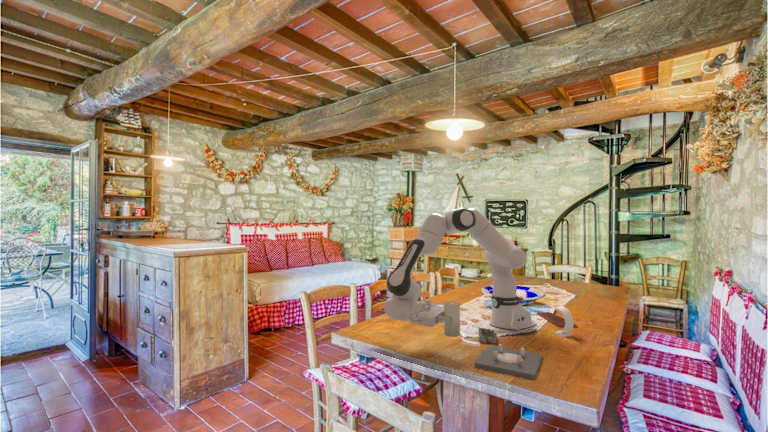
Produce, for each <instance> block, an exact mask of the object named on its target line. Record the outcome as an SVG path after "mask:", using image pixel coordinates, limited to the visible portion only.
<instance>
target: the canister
mask: <svg viewBox="0 0 768 432" xmlns="http://www.w3.org/2000/svg"><path fill="white" fill-rule="evenodd" d="M443 304H444V317H451V322H450V323H448V322H443V335H445V336H446V337H450V338H451V337H452V338H457V337H459V336H461V304H460V302H458V301H453V300H452V301H451V300H450V301H449V300H448V301H444V302H443Z"/></svg>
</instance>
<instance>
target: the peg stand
mask: <svg viewBox="0 0 768 432" xmlns="http://www.w3.org/2000/svg"><path fill="white" fill-rule="evenodd" d="M542 360H543V354H542V353H537V352H530V351H526V349H525V347H524V348H523V347H521V348H520V350H519V349H514V348H508V347H503V344H501V343H499V344H498V346H497V345H491V344H488V345H487V346H486V347H485V349H484V350H483V351H482V352H481V353H480V355H479V356H478V357H477V358H476V360H475V361H474V367H475V368H478V369H483V370H489V371H493V372H498V373H503V374H507V375H512V376H517V377H521V378H526V379H529V380H530V379H532V380H536V378H537V375H538V372H539V369H540V366H541V364H542Z"/></svg>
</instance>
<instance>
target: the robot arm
mask: <svg viewBox="0 0 768 432" xmlns="http://www.w3.org/2000/svg"><path fill="white" fill-rule="evenodd" d="M466 231H467V233H468V234H469V235H470V237H472V239H473V240H474V241H475V242H476V243H477V244H478V245H479V246H480V247H481V248H482V249H484V257H485V260H486V261H487V263H488V265H489V269H490V273H491V277H492V294H491V306H492V308H491V313H490V315H491V316H490V320H489V324H490V325H491V326H493V327H496V328H500V329H508V330H509V329H511V330H514V331H515V330H516V331H519V330H523V329H527V328H530V327H535V326H537V322H536V321H535V320H533V319H532V315H531V311H529V310H528V309H527V308H526V307H524V306H523V305H522V304H521V303H520V302H524V300H525V299H524V297H523V296H518V295H517V279H516V277H515V276H514V273H513V271H512V270H518V269H522V268H523V267H524V266H525V265H526V263H527V255H526V254H527V253H526V252H525V250H523V249H521V248H520V247H518V246H516V245H515V244H514V243H513V242H512V241H511V240H509V239H508V238H507V237H506V236H505V235H503V234H502V233H501V232H500V231H499V230H498V229H497V228H496V227H495V226H494V225H493V223H492V222H491V221H490V220H489V219H488V218H487V216H485V215H484V214H483V213H482V212H481V211H479V210H478V209H476V208H474V207H470V208H466V207H458V208H453V209H450V210H448V211H445V212H442V213H430V214H429V215H428V216H427V217H426V218H425V220H424V222H423V223H422V225H420V229H419V231H418V233H417V235H416V237H415V238H414V240H412V241H411V242H410V244H409V245H408V246H407V248H406V250H405V252H404V254H403V255H402V257H401V259H400V261H399V262H398V264H397V266H396V267H395V268H394V269H393V271H392V272H391V273H390V274H389V275H388V277H387V279H386V287H387V290H388V291H389V293H391V294H392V295H391V296H389V298H387V299H385V301H384V306H383V307H384V310H383V311H384V312H385V315H386V316H387V317H388V318H389V319H392V320H395V321H399V322H400V321H401V322H407V321H408V322H410V323H413V324H417V325H421V326H425V327H428V328H429V327H430V328H433V327H435V326H436V325H438V324H439V323H442V324H444V322H448V323H450V322H451V317H444V303H441V302H434V301H433V300H425V301H422V300H420V301H419V299H420V296H421V292H422V291H421V287H420V285H419V284H418V282H417V281H415V279H413V278H412V271H413V270H414V268H415V266H416V264H417V263H418V260H419V259H420V257H421V256H432V255H434V254H436V253H437V252H438V250H439V249H440V247H441V244H442V242H443V239H444V236H445V235H453V234H458V233H462V232H466Z"/></svg>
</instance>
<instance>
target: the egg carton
mask: <svg viewBox="0 0 768 432" xmlns="http://www.w3.org/2000/svg"><path fill="white" fill-rule="evenodd" d="M477 330H478V332H477V333H478V337H479V340H480V342H481V343H484V344H487V343H491V344H495V343H497V342H498V338H497V335H498V334H497V332H496V331H495V330H494V329H490V328H485V327H480V326H479V327H478V329H477Z"/></svg>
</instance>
